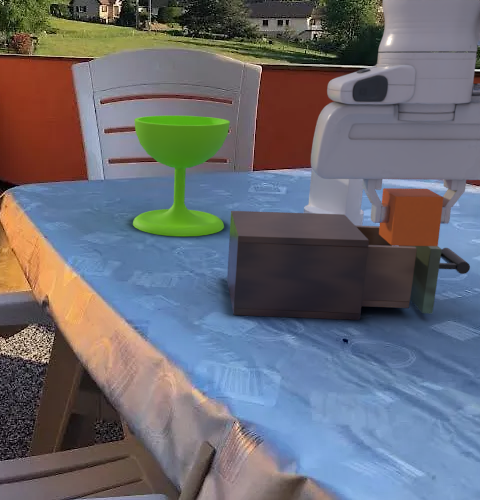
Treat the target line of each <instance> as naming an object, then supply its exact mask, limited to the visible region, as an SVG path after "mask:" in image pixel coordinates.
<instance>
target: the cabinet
mask: <svg viewBox="0 0 480 500" xmlns="http://www.w3.org/2000/svg"><path fill="white" fill-rule="evenodd" d="M229 221H230V222H229V238H228V239H229V240H228V241H229V242H228V256H227V260H228V261H227V271H226V273H227V274H226V282H227V283H226V284H227V287H228V292H229V298H230V304H231V309H232V314H233V316H254V317H277V318H278V317H279V318H299V319H300V318H301V319H326V320H327V319H328V320H350V321H351V320H353V321H360V320H361V315H362V314H361V313H362V307H363V306H362V297H363V289H364V280H365V271H366V263H367V254H368V246H369V240H368V239H367V238H366V237H365V236H364V235H363V234H362V232H361V231H360V230H359V229H358V228H357V227H356V226H355V225H354V224H353V223H352V222H351V221H350V220H349V219H348V218H347V217H346V216H345V215H344V214H315V213H304V212H284V211H283V212H282V211H281V212H280V211H279V212H278V211H251V210H250V211H249V210H230V220H229Z"/></svg>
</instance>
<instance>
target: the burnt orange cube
mask: <svg viewBox="0 0 480 500" xmlns="http://www.w3.org/2000/svg"><path fill="white" fill-rule="evenodd" d="M381 203H386V204H387V205H389V206H390V214H389V222H388V223H379V226H380V227H379V235H380V236H381V237H382V238H384V239H385V240H386V241H387V242H388V243H389V244H390V245H392V246H438V247H439V241H440V240H439V238H440V231H441V224H440V223H441V214H442V206H443V195H439V194H438V193H437V192H434V191H432V190H431V189H429V188H404V187H403V188H398V187H397V188H393V187H391V188H390V187H387V188H385V187H384V188H382V195H381Z"/></svg>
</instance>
